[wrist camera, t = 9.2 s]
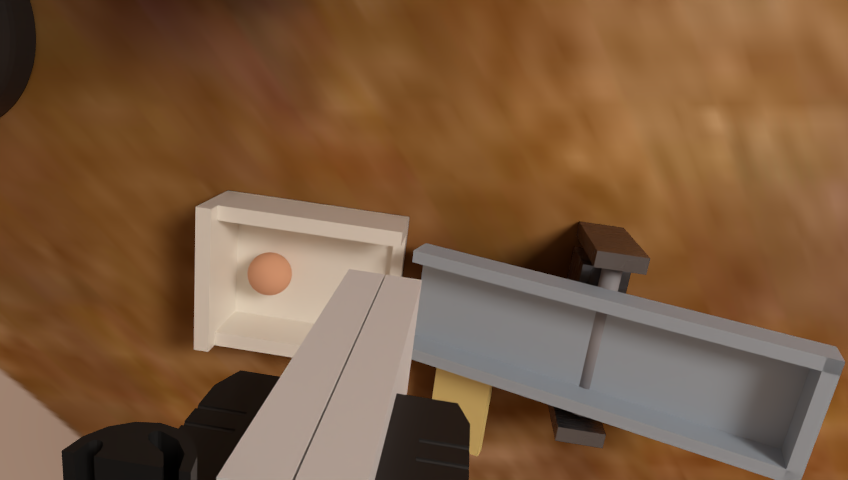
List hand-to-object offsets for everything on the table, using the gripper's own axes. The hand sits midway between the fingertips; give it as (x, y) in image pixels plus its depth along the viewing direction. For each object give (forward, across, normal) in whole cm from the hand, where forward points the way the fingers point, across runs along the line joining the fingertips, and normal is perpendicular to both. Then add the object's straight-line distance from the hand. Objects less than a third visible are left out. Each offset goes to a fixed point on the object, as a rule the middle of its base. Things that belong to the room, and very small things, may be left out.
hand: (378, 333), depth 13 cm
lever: (+24, +11, -13) cm, 29 cm away
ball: (+27, -11, -10) cm, 30 cm away
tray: (+28, -8, -10) cm, 31 cm away
